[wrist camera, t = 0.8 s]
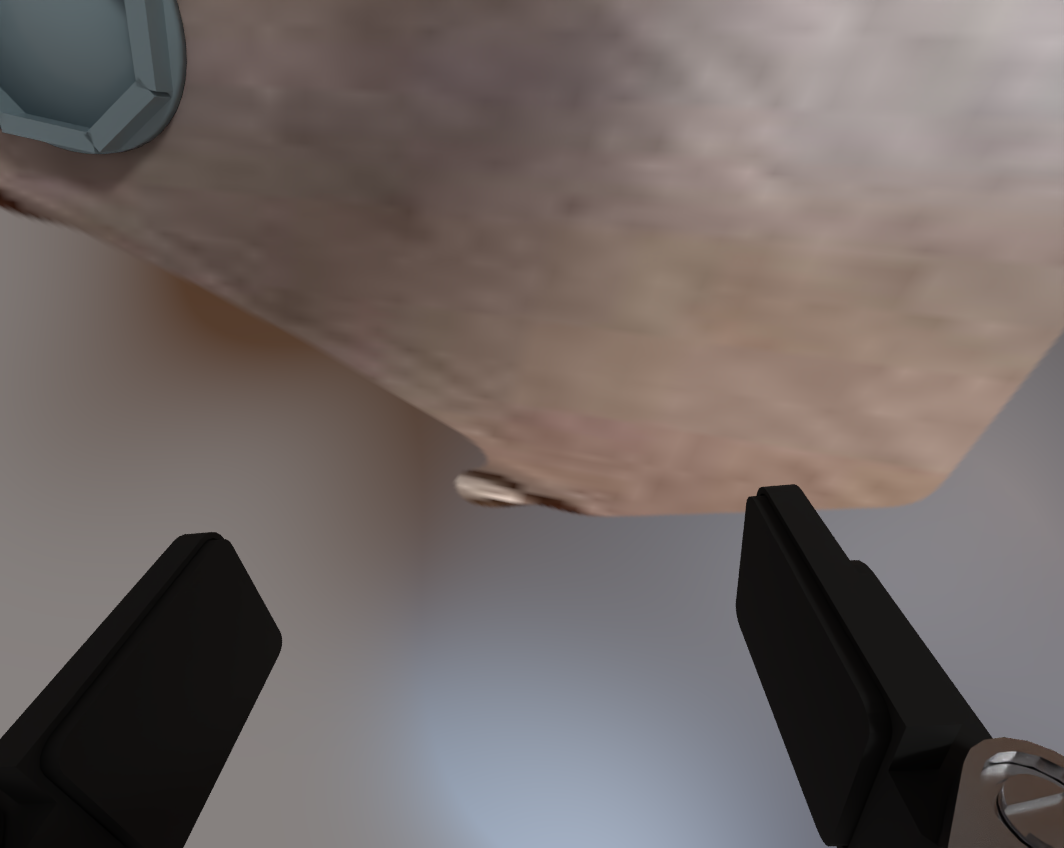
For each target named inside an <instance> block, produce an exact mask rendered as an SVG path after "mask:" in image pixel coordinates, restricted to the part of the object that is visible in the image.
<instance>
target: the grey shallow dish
mask: <svg viewBox="0 0 1064 848" xmlns="http://www.w3.org/2000/svg"><path fill="white" fill-rule="evenodd" d="M186 64H187V60H186V42H185V35H184V29H183V23H182V19H181V15H180V11H179V7H178V3H177V1H176V0H0V129H2V132H4V133H8V134H13V135H17V136H21V137H26V138H30V139H35V140H39V141H43V142H46V143H48V144H51V145H53V146H56V147H59V148H63V149H66V150H69V151H74V152H80V153H86V154H109V153H118V152H125V151H129V150H132V149H135V148H138V147H140V146H142V145H144V144H146V143H148V142H150V141H151V140H152V139H154V138H155V137H156V136H157V135H159V134H160V133H161V132H162V131H163V129H164V128H165V127H166V126H167V125H168V124H169V122H170V121H171V119H172V117H173V115H174V114H175V112H176V110H177V108H178V105H179V102H180V100H181V97H182V93H183V88H184V84H185V77H186Z"/></svg>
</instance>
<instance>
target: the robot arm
mask: <svg viewBox="0 0 1064 848" xmlns="http://www.w3.org/2000/svg"><path fill="white" fill-rule="evenodd" d="M736 613H737V618H738V622H739V625H740V628H741V631H742V633H743V636H744V639H745V641H746V644H747V647H748V649H749V652H750V655H751V657H752V660H753V662H754V665H755V668H756V670H757V673H758V676H759V678H760V681H761V683H762V686H763V689H764V691H765V694H766V696H767V699H768V701H769V704H770V707H771V710H772V712H773V714H774V718H775V720H776V723H777V725H778V728H779V731H780V733H781V736H782V739H783V741H784V744H785V746H786V749H787V752H788V754H789V757H790V760H791V762H792V765H793V767H794V770H795V773H796V775H797V778H798V781H799V783H800V786H801V788H802V791H803V794H804V796H805V799H806V801H807V804H808V807H809V809H810V812H811V815H812V817H813V820H814V823H815V825H816V828H817V830H818V832H819V835H820V837H821V838H822V840H823V842H824V843H825V844H826V845H827V846H837V848H1064V756H1062V755H1061V754H1059V753H1057V752H1055V751H1053V750H1051V749H1048V748H1045V747H1043V746H1040V745H1037V744H1034V743H1032V742H1029V741H1025V740H1019V739H1012V738H1006V737H1002V738H994V739H993V738H992V737H991V735H990V734H989V732H988V731H987V730H986V728H985V727H984V726H983V724H982V723H981V721H980V720H979V719H978V717H977V716H976V714H975V713H974V712H973V710H972V709H971V707H970V706H969V705H968V703H967V702H966V700H965V699H964V698H963V696H962V695H961V694H960V692H959V691H958V689H957V688H956V687H955V685H954V684H953V682H952V681H951V680H950V678H949V677H948V675H947V674H946V673H945V671H944V670H943V669H942V667H941V666H940V664H939V663H938V662H937V660H936V659H935V657H934V656H933V655H932V653H931V652H930V650H929V649H928V648H927V646H926V645H925V643H924V642H923V641H922V640H921V638H920V637H919V635H918V634H917V632H916V631H915V630H914V628H913V627H912V626H911V624H910V623H909V621H908V620H907V618H906V617H905V616H904V614H903V613H902V612H901V610H900V609H899V607H898V606H897V605H896V603H895V602H894V600H893V599H892V598H891V596H890V595H889V593H888V592H887V591H886V589H885V588H884V587H883V585H882V584H881V582H880V581H879V580H878V578H877V577H876V575H875V574H874V573H873V571H872V570H871V569H870V568H869V567H868V566H867V565H866V564H865V563H863V562H861V561H859V560H851V561H850V560H849V558H848V557H847V556H846V554H845V553H844V551H843V550H842V548H841V547H840V545H839V544H838V542H837V541H836V540H835V538H834V537H833V536H832V534H831V532H830V531H829V529H828V528H827V526H826V525H825V524H824V522H823V521H822V519H821V518H820V516H819V515H818V513H817V512H816V510H815V509H814V507H813V506H812V505H811V503H810V502H809V500H808V499H807V497H806V496H805V494H804V493H803V491H802V490H801V489H800V488H799V487H798V486H797V485H795V484H792V485H780V486H768V487H761V488H759V490H758V492H757V496H751V497H748V499H747V503H746V512H745V522H744V531H743V540H742V550H741V560H740V569H739V578H738V587H737V598H736ZM281 647H282V636H281V633H280V631H279V629H278V627H277V625H276V623H275V622H274V620H273V618H272V616H271V615H270V613H269V611H268V609H267V607H266V605H265V604H264V602H263V600H262V598H261V596H260V595H259V593H258V591H257V589H256V587H255V585H254V584H253V582H252V580H251V578H250V576H249V575H248V573H247V571H246V569H245V567H244V566H243V564H242V562H241V560H240V559H239V557H238V555H237V553H236V551H235V549H234V547H233V546H232V544H231V543H230V542H229V541H228V540H226V539H224V538H223V537H222V536H221V535H220V534H218V533H216V532H208V533H196V534H184V535H182V536H179V537H178V538H177V539H176V540H175V541H173V543H172V544H171V545H170V546H169V547H168V548H167V550H166V551H165V552H164V553H163V554H162V555H161V556H160V557H159V559H158V560H157V561H156V562H155V563H154V565H152V567H151V568H150V569H149V570H148V571H147V572H146V573H145V575H144V576H143V577H142V578H141V579H140V580H139V582H137V584H136V585H135V586H134V587H133V588H132V589H131V591H130V592H129V593H128V594H127V595H126V596H125V597H124V598H123V600H122V601H121V602H120V603H119V604H118V605H117V607H116V608H115V609H114V610H113V611H112V612H111V613H110V614H109V616H108V617H107V618H106V619H105V620H104V621H103V622H102V624H101V625H100V626H99V627H98V628H97V629H96V631H95V632H94V633H93V634H92V635H91V636H90V637H89V638H88V640H87V641H86V642H85V643H84V644H83V645H82V646H81V647H80V649H79V650H78V651H77V652H76V653H75V654H74V656H73V657H72V658H71V659H70V660H69V661H68V662H67V663H66V665H65V666H64V667H63V668H62V669H61V670H60V671H59V673H58V674H57V675H56V676H55V677H54V678H53V679H52V681H51V682H50V683H49V684H48V685H47V686H46V688H45V689H44V690H43V691H42V692H41V693H40V694H39V696H38V697H37V698H36V699H35V700H34V701H33V702H32V703H31V705H30V706H29V707H28V708H27V709H26V710H25V712H24V713H23V714H22V715H21V716H20V717H19V718H18V719H17V720H16V722H15V723H14V724H13V725H12V726H11V727H10V728H9V730H8V731H7V732H6V733H5V734H4V735H3V736H2V738H1V739H0V848H183V847H184V845H185V843H186V841H187V839H188V837H189V835H190V833H191V831H192V829H193V827H194V825H195V823H196V821H197V819H198V817H199V815H200V813H201V811H202V809H203V807H204V805H205V803H206V801H207V799H208V797H209V795H210V793H211V791H212V789H213V787H214V785H215V783H216V781H217V779H218V777H219V775H220V773H221V771H222V769H223V767H224V765H225V762H226V761H227V758H228V756H229V754H230V752H231V750H232V748H233V746H234V744H235V742H236V740H237V738H238V736H239V734H240V732H241V730H242V728H243V726H244V724H245V722H246V720H247V718H248V716H249V714H250V712H251V710H252V708H253V706H254V704H255V702H256V700H257V698H258V696H259V694H260V692H261V690H262V688H263V686H264V684H265V682H266V680H267V678H268V676H269V674H270V672H271V670H272V668H273V666H274V664H275V662H276V660H277V658H278V656H279V653H280V651H281Z"/></svg>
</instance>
